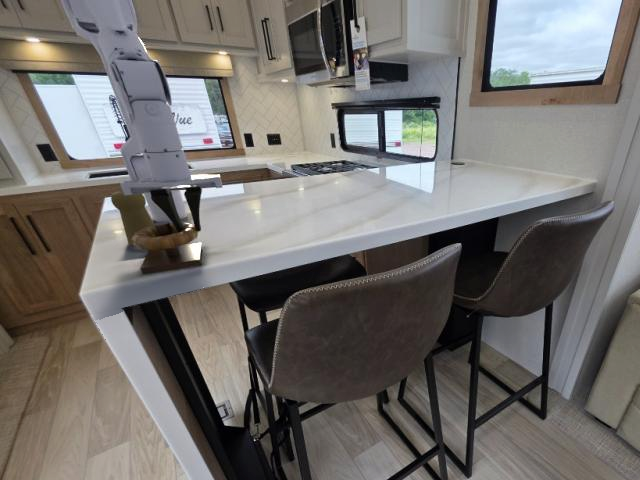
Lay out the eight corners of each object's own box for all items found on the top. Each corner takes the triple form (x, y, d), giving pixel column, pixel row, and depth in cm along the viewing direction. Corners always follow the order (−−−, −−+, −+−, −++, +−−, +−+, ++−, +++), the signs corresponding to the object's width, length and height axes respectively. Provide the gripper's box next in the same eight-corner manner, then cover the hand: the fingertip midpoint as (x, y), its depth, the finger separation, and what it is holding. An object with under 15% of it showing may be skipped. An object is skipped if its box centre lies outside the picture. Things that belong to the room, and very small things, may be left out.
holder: (151, 255, 64) (135, 219, 60) (203, 248, 67) (191, 213, 63) (142, 274, 57) (125, 234, 53) (201, 265, 60) (188, 227, 56)
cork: (170, 243, 69) (150, 189, 64) (139, 253, 65) (114, 196, 59) (155, 238, 72) (134, 186, 66) (123, 247, 67) (98, 192, 62)
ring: (141, 236, 62) (136, 225, 61) (200, 229, 66) (197, 218, 65) (130, 255, 54) (124, 243, 53) (198, 246, 58) (194, 234, 57)
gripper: (101, 156, 48) (139, 243, 55) (212, 151, 53) (233, 231, 60) (113, 150, 53) (146, 230, 60) (212, 146, 59) (232, 221, 66)
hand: (190, 230), depth 61 cm, fingers closed on ring, 2 cm apart
